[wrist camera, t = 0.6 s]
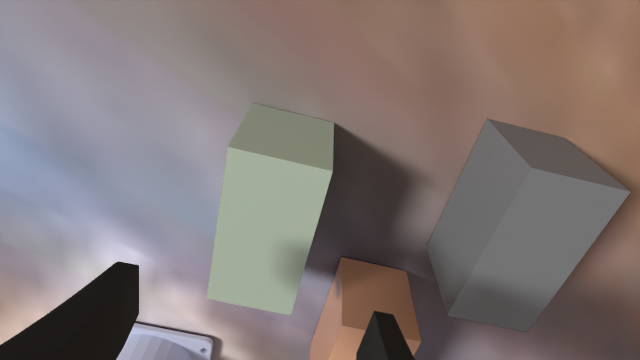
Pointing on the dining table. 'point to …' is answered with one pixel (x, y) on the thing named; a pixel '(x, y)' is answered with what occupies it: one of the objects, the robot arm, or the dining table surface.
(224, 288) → the sage block
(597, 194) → the charcoal block
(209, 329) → the dining table surface
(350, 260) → the terracotta block
